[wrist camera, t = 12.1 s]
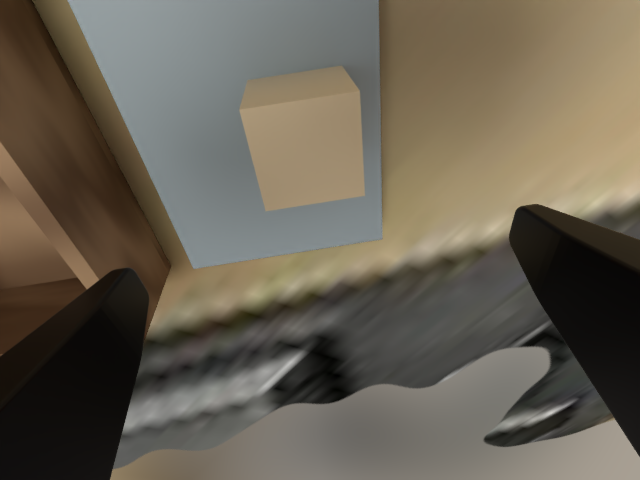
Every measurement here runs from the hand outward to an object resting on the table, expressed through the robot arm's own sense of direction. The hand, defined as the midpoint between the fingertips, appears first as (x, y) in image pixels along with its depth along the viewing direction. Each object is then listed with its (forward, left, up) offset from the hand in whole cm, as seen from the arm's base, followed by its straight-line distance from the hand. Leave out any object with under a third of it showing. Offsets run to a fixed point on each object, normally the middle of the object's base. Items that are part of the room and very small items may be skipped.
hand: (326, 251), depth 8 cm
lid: (0, +2, -11) cm, 11 cm away
